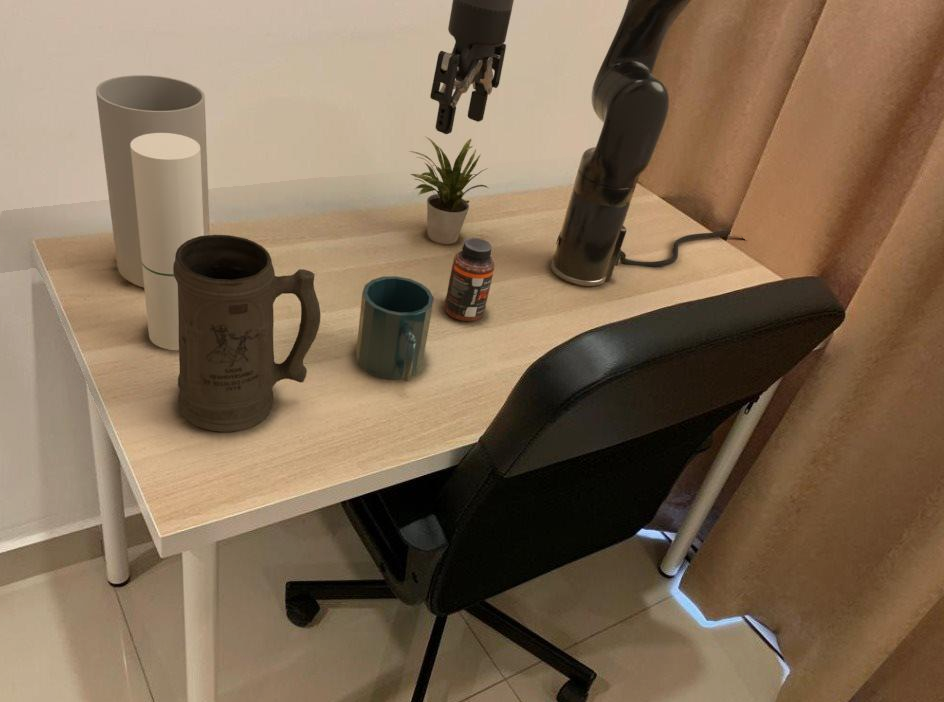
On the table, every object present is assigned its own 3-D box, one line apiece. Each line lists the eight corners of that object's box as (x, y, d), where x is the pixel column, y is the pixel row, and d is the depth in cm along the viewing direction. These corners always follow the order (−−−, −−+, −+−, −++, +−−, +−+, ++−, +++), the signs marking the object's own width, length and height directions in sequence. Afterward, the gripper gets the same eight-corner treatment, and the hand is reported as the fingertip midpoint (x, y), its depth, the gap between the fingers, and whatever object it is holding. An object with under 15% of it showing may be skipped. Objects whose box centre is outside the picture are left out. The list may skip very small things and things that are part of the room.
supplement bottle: (479, 327, 111) (495, 259, 104) (440, 317, 111) (452, 248, 104) (486, 306, 115) (502, 239, 109) (448, 297, 116) (461, 229, 109)
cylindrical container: (216, 343, 98) (210, 156, 83) (159, 355, 94) (142, 162, 79) (196, 313, 102) (187, 130, 87) (141, 324, 99) (121, 135, 83)
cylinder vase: (194, 242, 116) (186, 74, 101) (223, 284, 109) (219, 109, 94) (107, 253, 110) (84, 76, 95) (131, 299, 103) (111, 114, 87)
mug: (349, 341, 103) (356, 277, 97) (412, 337, 106) (422, 275, 100) (370, 398, 95) (378, 331, 88) (437, 392, 98) (450, 328, 91)
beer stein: (178, 440, 84) (182, 283, 72) (165, 380, 91) (166, 228, 79) (315, 426, 90) (339, 281, 79) (292, 371, 98) (311, 230, 86)
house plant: (412, 206, 138) (424, 117, 128) (486, 224, 137) (505, 135, 127) (391, 241, 127) (403, 145, 117) (472, 261, 126) (491, 166, 116)
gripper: (481, 13, 90) (455, 146, 100) (534, 2, 100) (506, 124, 110) (428, -5, 92) (408, 127, 102) (485, -14, 102) (462, 107, 112)
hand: (459, 125), depth 106 cm, fingers open, 8 cm apart
